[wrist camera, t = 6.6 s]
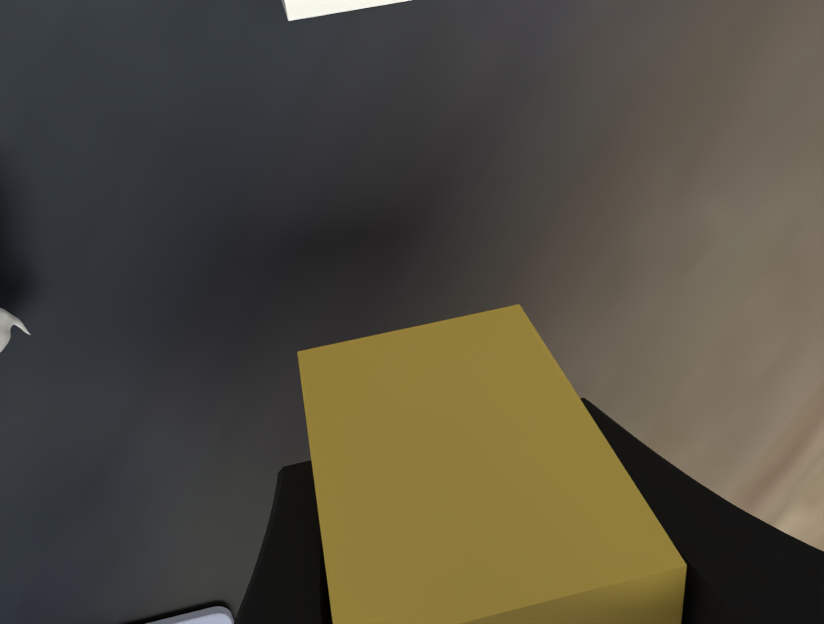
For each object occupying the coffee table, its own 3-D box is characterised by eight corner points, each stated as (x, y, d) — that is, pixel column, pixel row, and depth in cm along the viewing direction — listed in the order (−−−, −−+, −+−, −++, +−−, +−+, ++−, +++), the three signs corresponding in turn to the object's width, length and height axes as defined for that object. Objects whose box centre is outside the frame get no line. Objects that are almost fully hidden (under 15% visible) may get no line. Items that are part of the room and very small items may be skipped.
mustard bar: (528, 469, 16) (668, 758, 11) (337, 515, 15) (388, 836, 10) (519, 304, 14) (686, 565, 9) (297, 351, 13) (337, 655, 8)
